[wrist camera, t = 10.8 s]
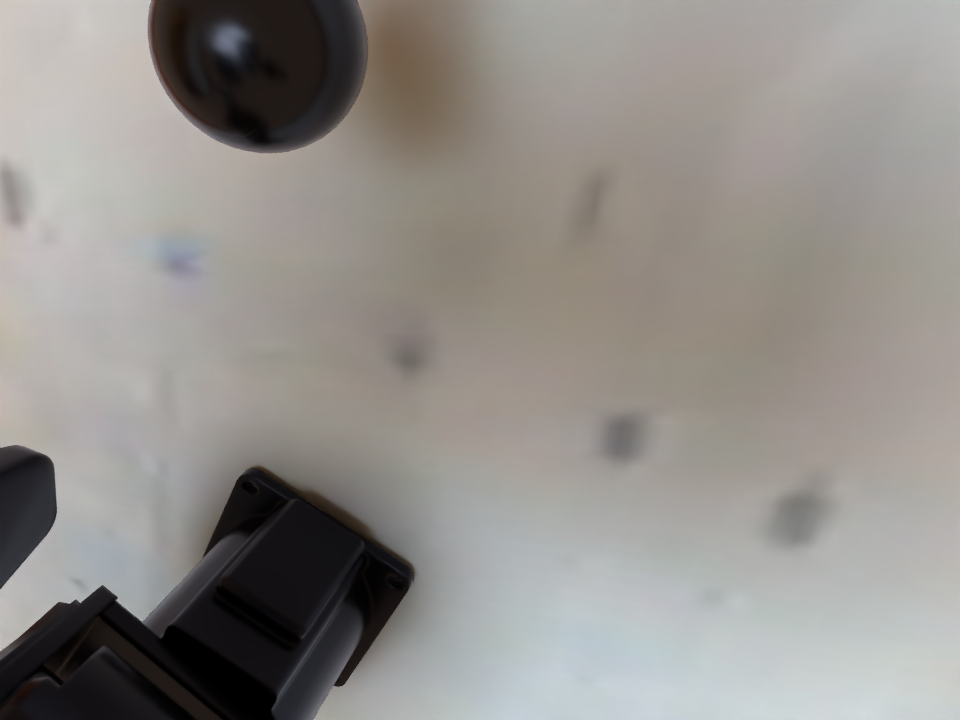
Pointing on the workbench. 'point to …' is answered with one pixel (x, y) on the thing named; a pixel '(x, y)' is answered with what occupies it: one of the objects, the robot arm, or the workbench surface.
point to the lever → (260, 67)
